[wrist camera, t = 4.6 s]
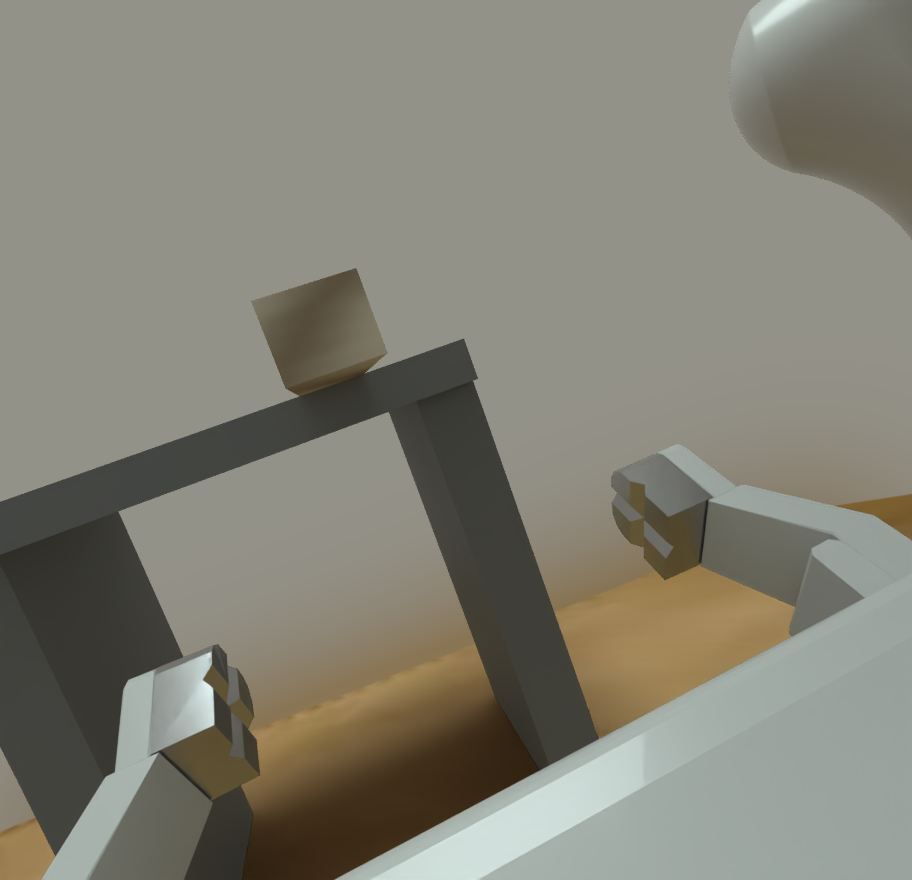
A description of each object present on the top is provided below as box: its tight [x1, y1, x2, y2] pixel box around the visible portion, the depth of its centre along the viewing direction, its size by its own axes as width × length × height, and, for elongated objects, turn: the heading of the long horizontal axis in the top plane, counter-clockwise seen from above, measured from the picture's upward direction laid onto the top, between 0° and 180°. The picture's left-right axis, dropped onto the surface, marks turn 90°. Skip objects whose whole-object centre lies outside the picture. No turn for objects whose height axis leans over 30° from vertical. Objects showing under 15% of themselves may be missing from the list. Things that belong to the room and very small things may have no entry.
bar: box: [252, 269, 387, 396], centre depth 29 cm, size 3×26×2 cm, turn 13°
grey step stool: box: [0, 339, 598, 880], centre depth 34 cm, size 25×16×26 cm, turn 103°
